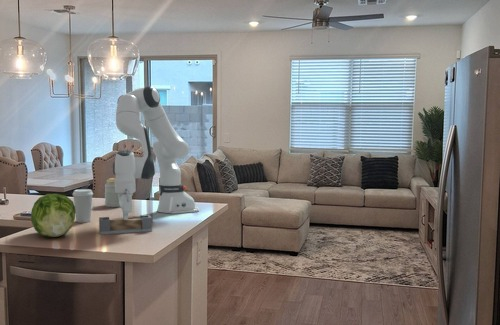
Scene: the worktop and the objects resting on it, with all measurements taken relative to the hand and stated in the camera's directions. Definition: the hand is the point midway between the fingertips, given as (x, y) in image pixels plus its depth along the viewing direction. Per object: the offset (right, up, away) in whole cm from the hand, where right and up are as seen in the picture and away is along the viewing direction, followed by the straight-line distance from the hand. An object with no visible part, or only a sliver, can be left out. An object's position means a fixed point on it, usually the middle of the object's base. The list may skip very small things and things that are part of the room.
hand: (125, 219), depth 222 cm
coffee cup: (-25, -3, +20) cm, 32 cm away
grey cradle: (0, -5, 0) cm, 5 cm away
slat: (0, -4, 0) cm, 4 cm away
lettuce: (-27, -6, -9) cm, 29 cm away
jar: (-21, 0, +65) cm, 68 cm away
